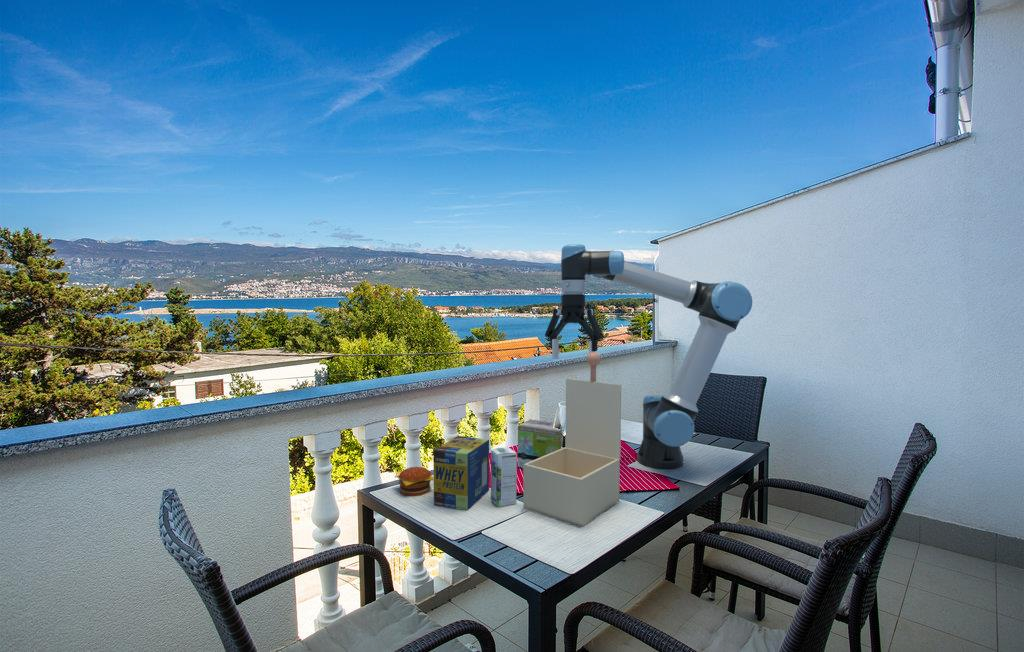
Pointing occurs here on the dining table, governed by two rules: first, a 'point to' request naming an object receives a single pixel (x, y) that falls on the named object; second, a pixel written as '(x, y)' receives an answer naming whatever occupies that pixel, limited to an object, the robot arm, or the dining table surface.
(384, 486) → the dining table surface
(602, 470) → the carton
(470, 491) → the protein box
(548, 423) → the tea box
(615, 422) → the lid
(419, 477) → the hamburger
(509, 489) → the syrup box
